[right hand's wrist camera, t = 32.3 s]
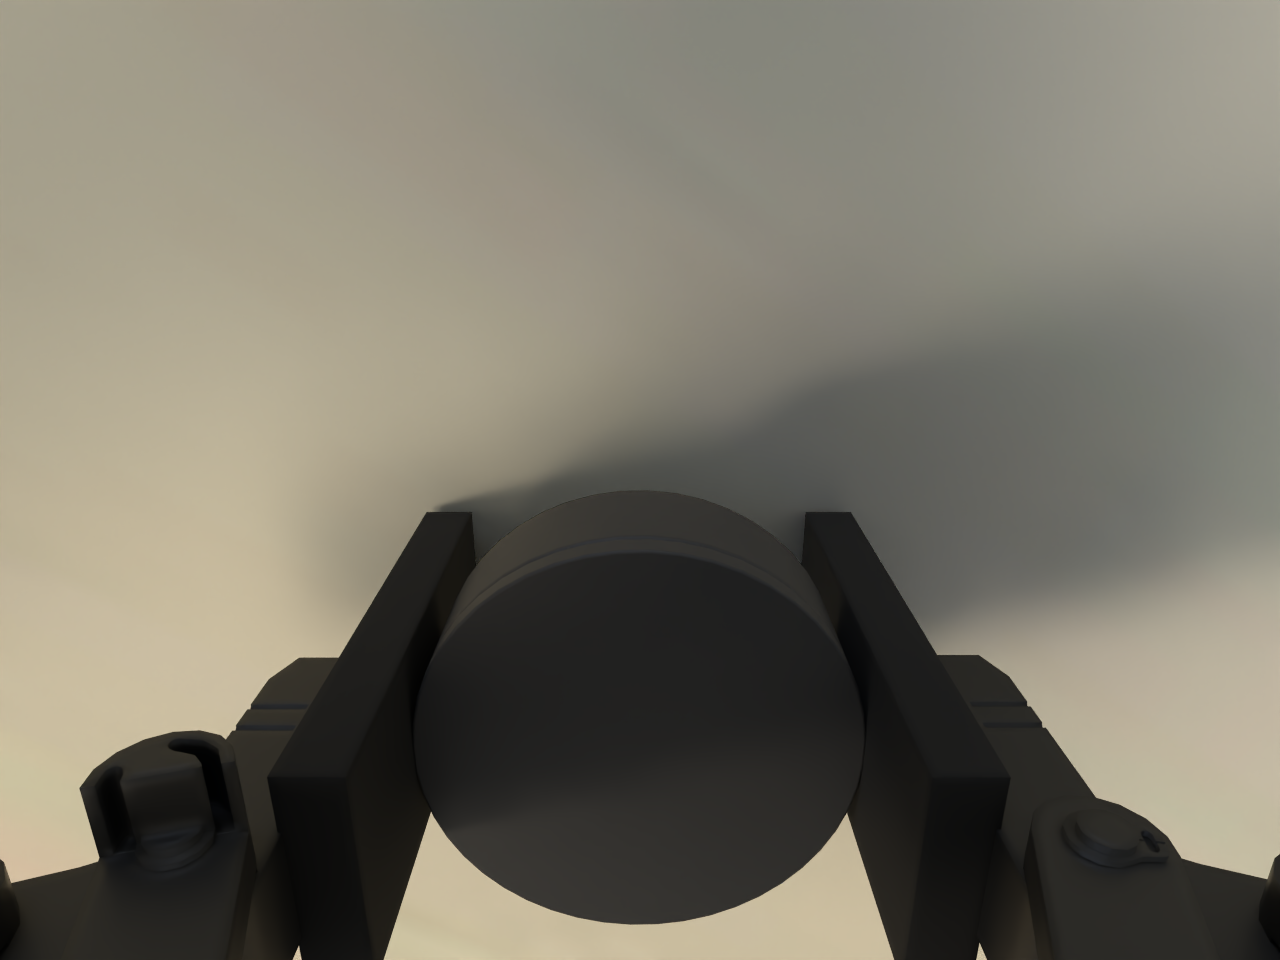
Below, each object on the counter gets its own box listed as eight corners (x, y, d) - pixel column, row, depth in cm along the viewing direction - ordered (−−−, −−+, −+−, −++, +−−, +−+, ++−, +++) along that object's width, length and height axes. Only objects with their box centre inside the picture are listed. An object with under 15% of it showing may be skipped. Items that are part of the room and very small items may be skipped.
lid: (652, 404, 11) (654, 452, 9) (911, 678, 12) (958, 767, 11) (364, 657, 12) (316, 744, 11) (628, 879, 14) (627, 987, 12)
